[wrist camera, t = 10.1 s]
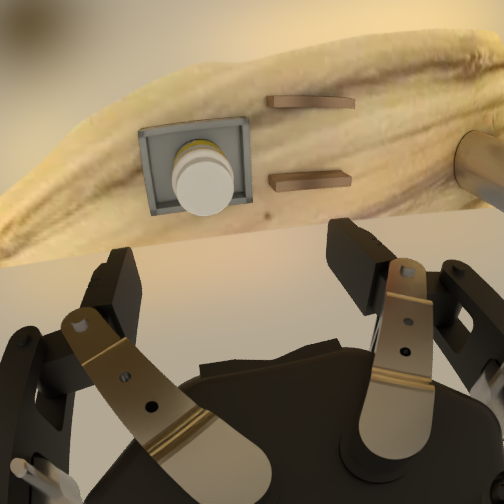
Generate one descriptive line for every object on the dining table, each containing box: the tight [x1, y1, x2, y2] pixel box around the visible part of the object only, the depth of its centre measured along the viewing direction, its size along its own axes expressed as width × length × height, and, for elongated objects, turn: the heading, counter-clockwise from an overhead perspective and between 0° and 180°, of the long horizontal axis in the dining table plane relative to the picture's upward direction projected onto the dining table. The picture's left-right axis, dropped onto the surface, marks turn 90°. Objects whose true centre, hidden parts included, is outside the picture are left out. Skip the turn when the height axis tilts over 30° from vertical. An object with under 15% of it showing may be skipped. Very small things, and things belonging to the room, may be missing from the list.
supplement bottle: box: [172, 139, 234, 216], centre depth 24 cm, size 5×5×8 cm
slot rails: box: [267, 96, 355, 192], centre depth 28 cm, size 8×9×2 cm
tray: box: [138, 116, 253, 216], centre depth 27 cm, size 10×8×2 cm
